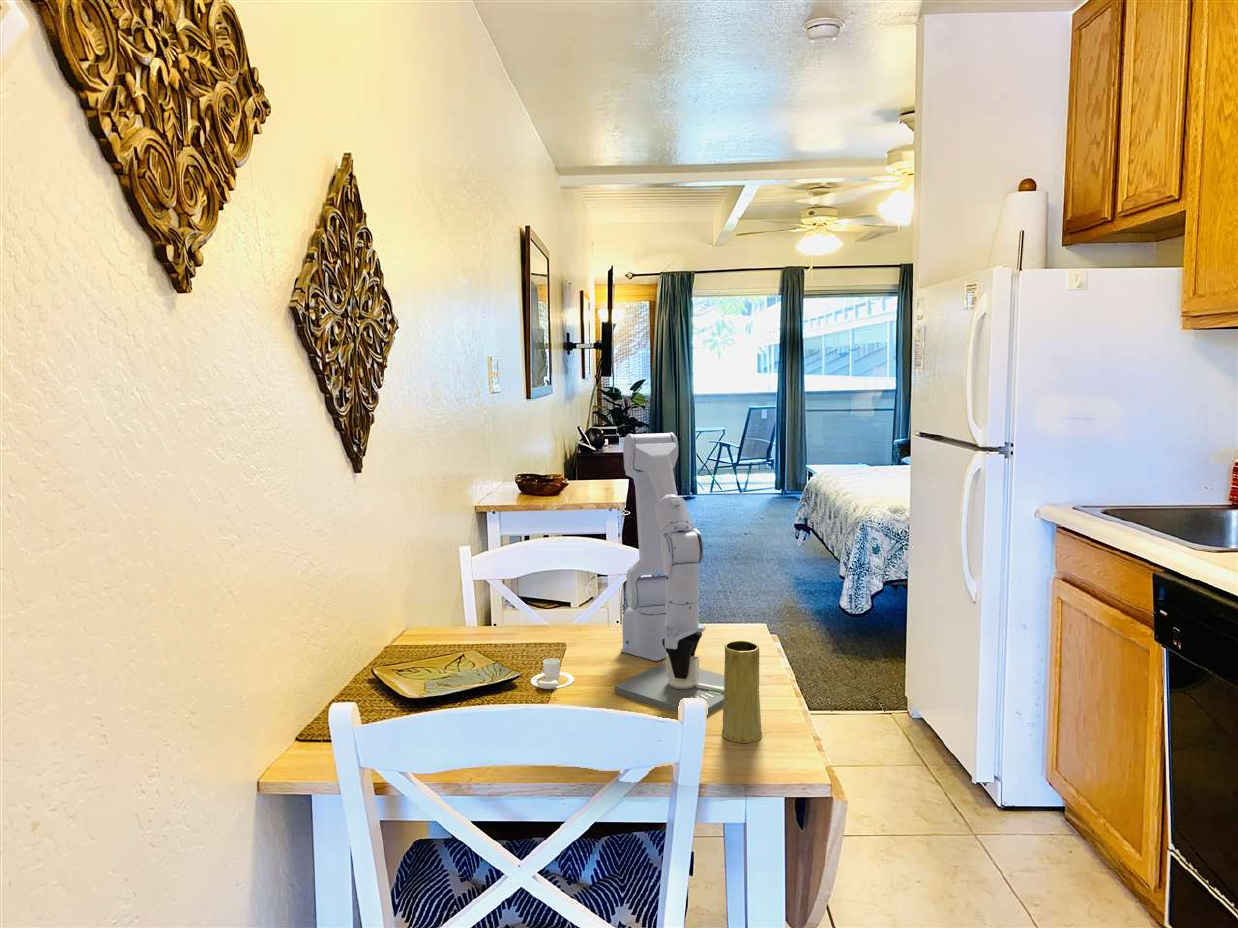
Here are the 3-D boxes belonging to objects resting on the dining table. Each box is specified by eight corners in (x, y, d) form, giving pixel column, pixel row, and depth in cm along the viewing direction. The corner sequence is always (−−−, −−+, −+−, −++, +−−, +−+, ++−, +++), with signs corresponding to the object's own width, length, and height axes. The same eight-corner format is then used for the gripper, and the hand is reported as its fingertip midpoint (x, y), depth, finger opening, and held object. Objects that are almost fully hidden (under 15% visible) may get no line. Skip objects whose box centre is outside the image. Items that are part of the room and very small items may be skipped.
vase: (752, 747, 119) (752, 655, 117) (715, 737, 122) (714, 648, 121) (767, 731, 124) (768, 643, 122) (731, 722, 127) (731, 636, 126)
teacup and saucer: (551, 696, 140) (550, 674, 140) (518, 685, 145) (517, 664, 144) (583, 680, 147) (582, 659, 146) (551, 671, 152) (550, 650, 151)
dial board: (614, 692, 140) (614, 685, 140) (669, 666, 152) (669, 659, 152) (698, 720, 128) (698, 712, 128) (750, 689, 140) (750, 682, 140)
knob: (662, 685, 139) (661, 657, 139) (674, 675, 144) (674, 648, 143) (719, 696, 134) (719, 668, 133) (730, 686, 138) (730, 658, 138)
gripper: (693, 614, 130) (693, 693, 132) (714, 590, 144) (714, 663, 145) (652, 610, 133) (653, 688, 134) (677, 587, 146) (677, 658, 148)
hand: (682, 675), depth 140 cm, fingers closed on knob, 2 cm apart
